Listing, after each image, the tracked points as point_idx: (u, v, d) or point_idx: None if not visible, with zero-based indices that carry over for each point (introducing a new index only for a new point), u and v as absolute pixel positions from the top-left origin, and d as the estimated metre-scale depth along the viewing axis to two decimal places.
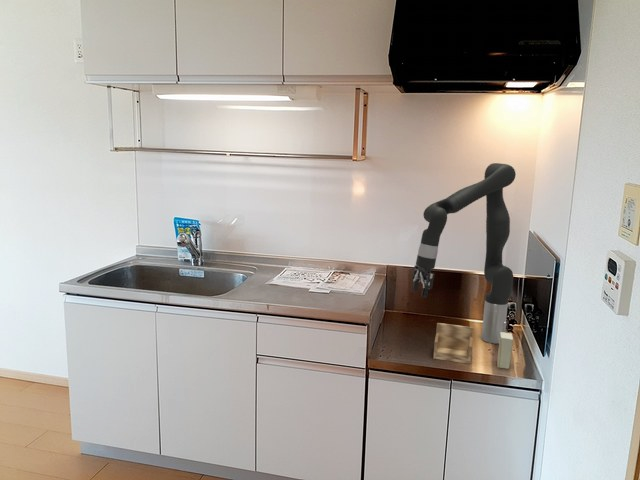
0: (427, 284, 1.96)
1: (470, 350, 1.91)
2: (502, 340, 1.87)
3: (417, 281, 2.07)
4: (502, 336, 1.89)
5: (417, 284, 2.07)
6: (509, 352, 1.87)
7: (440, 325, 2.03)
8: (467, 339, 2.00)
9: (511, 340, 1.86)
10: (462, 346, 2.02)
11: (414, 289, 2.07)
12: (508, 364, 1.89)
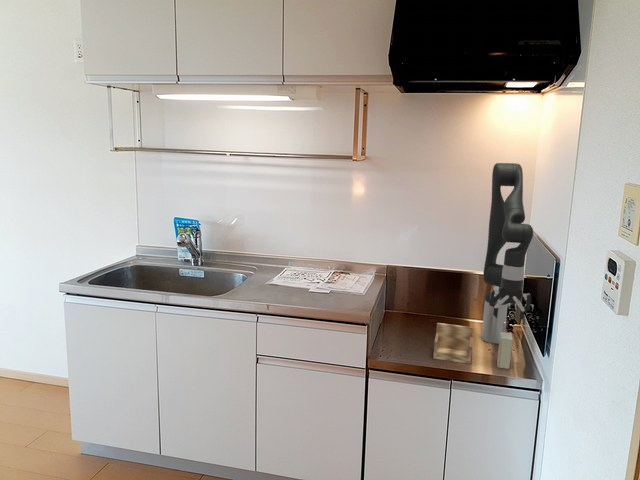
0: None
1: (470, 350, 1.91)
2: (502, 340, 1.87)
3: (497, 306, 1.89)
4: (502, 336, 1.89)
5: (497, 309, 1.89)
6: (509, 352, 1.87)
7: (440, 325, 2.03)
8: (467, 339, 2.00)
9: (511, 340, 1.86)
10: (462, 346, 2.02)
11: (497, 315, 1.89)
12: (508, 364, 1.89)
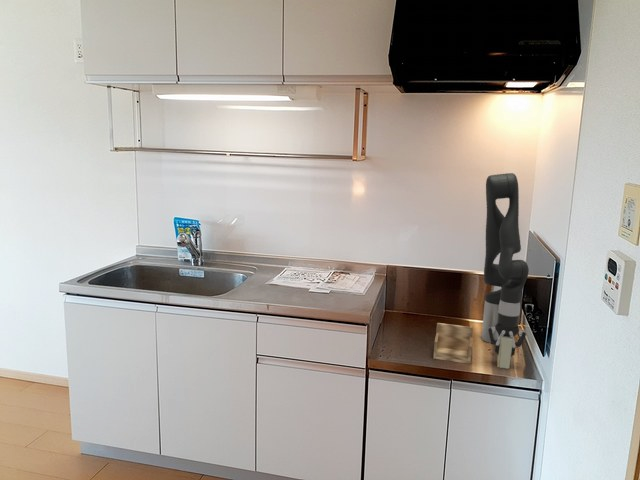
0: (521, 343, 1.88)
1: (470, 350, 1.91)
2: (502, 340, 1.87)
3: (499, 343, 1.91)
4: None
5: (499, 346, 1.91)
6: (509, 352, 1.87)
7: (440, 325, 2.03)
8: (467, 339, 2.00)
9: (511, 340, 1.86)
10: (462, 346, 2.02)
11: (498, 352, 1.91)
12: (508, 364, 1.89)
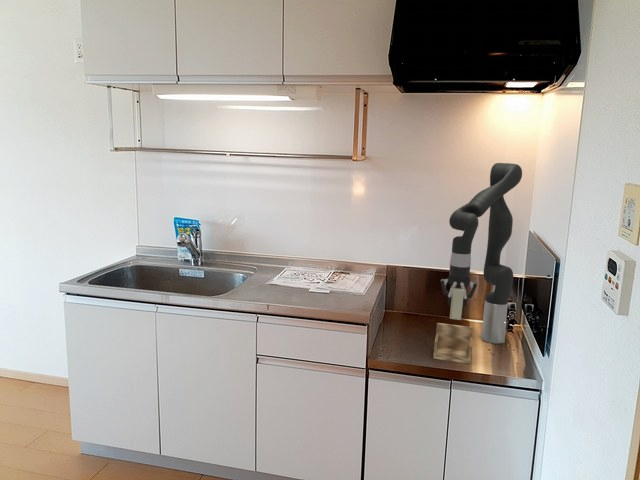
0: (472, 294, 1.91)
1: (470, 350, 1.91)
2: (453, 291, 1.91)
3: None
4: (454, 288, 1.92)
5: (451, 298, 1.95)
6: (460, 303, 1.91)
7: (440, 325, 2.03)
8: (467, 339, 2.00)
9: (462, 291, 1.90)
10: (462, 346, 2.02)
11: None
12: (460, 315, 1.92)
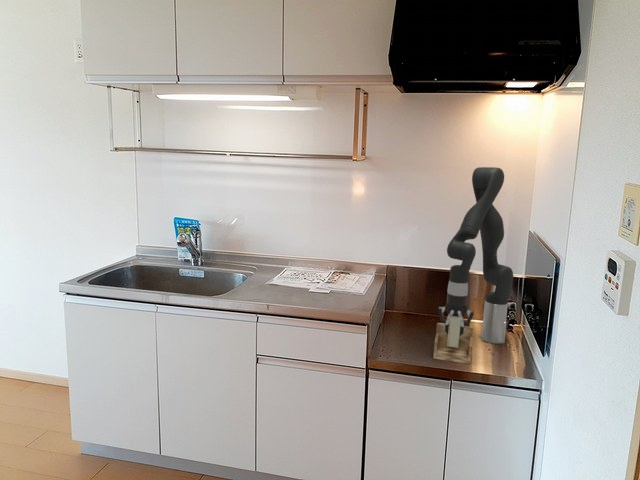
0: (469, 322, 1.94)
1: (470, 350, 1.91)
2: (451, 319, 1.93)
3: (448, 323, 1.97)
4: (451, 316, 1.95)
5: None
6: (457, 331, 1.94)
7: (440, 325, 2.03)
8: (467, 339, 2.00)
9: (459, 319, 1.92)
10: (462, 346, 2.02)
11: None
12: (457, 343, 1.95)
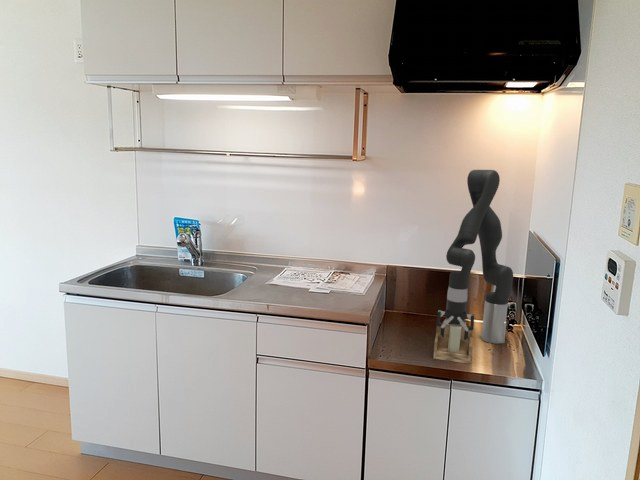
0: (473, 326, 1.94)
1: (470, 350, 1.91)
2: (451, 329, 1.94)
3: None
4: (451, 325, 1.95)
5: (444, 329, 1.98)
6: (458, 341, 1.94)
7: None
8: (467, 339, 2.00)
9: (459, 329, 1.93)
10: (462, 346, 2.02)
11: (443, 335, 1.98)
12: (457, 352, 1.95)
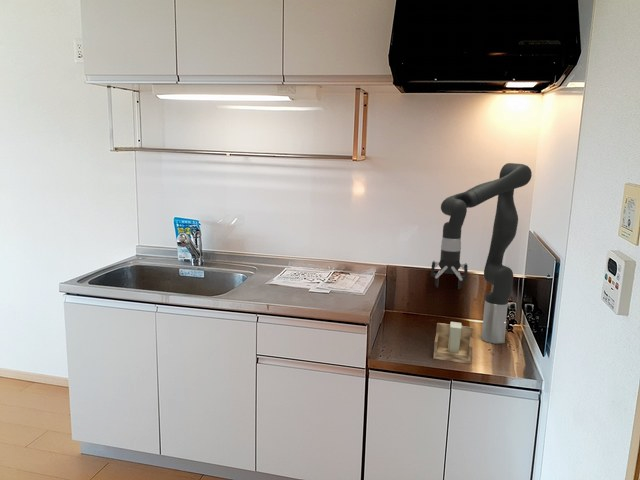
0: None
1: (470, 350, 1.91)
2: (451, 329, 1.94)
3: (438, 276, 2.02)
4: (451, 325, 1.95)
5: (438, 279, 2.03)
6: (458, 341, 1.94)
7: (440, 325, 2.03)
8: (467, 339, 2.00)
9: (459, 329, 1.93)
10: (462, 346, 2.02)
11: None
12: (457, 352, 1.95)
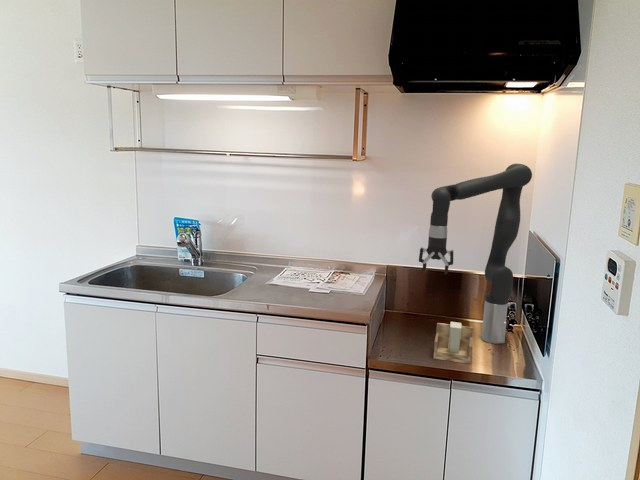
0: None
1: (470, 350, 1.91)
2: (451, 329, 1.94)
3: None
4: (451, 325, 1.95)
5: None
6: (458, 341, 1.94)
7: (440, 325, 2.03)
8: (467, 339, 2.00)
9: (459, 329, 1.93)
10: (462, 346, 2.02)
11: (425, 270, 2.15)
12: (457, 352, 1.95)
